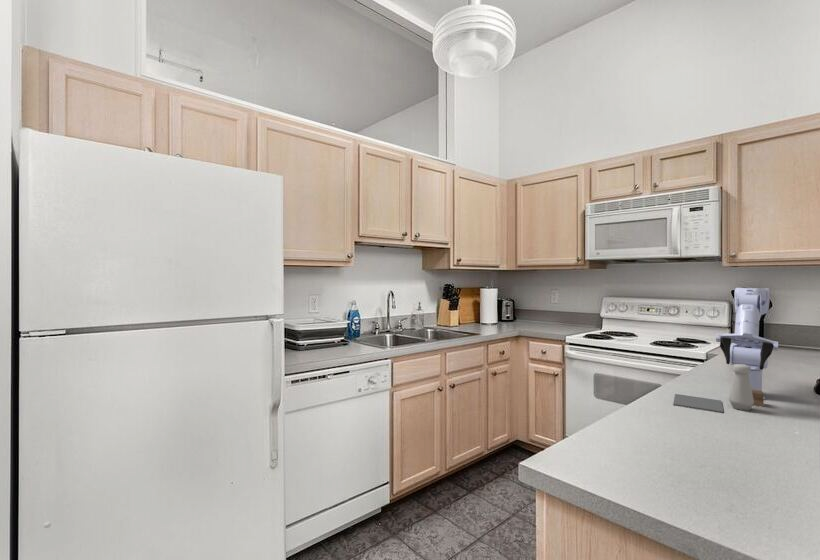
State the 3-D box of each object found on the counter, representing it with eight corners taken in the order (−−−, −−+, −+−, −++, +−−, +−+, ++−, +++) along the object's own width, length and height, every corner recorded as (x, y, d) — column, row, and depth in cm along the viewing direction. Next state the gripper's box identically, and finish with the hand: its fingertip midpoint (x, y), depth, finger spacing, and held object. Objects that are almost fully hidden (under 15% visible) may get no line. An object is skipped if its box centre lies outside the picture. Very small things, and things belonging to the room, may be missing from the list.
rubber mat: (675, 395, 133) (675, 393, 133) (720, 401, 127) (721, 400, 127) (673, 405, 123) (673, 403, 123) (723, 413, 116) (723, 411, 116)
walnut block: (744, 401, 128) (745, 388, 128) (761, 403, 125) (761, 390, 125) (746, 404, 124) (746, 391, 124) (763, 407, 122) (763, 393, 122)
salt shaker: (744, 405, 123) (745, 362, 123) (758, 412, 117) (759, 367, 117) (723, 404, 123) (724, 362, 123) (737, 411, 118) (737, 366, 118)
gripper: (718, 316, 128) (715, 353, 122) (780, 323, 120) (779, 363, 113) (716, 328, 133) (713, 364, 126) (776, 336, 124) (775, 375, 118)
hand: (744, 365), depth 120 cm, fingers open, 7 cm apart
